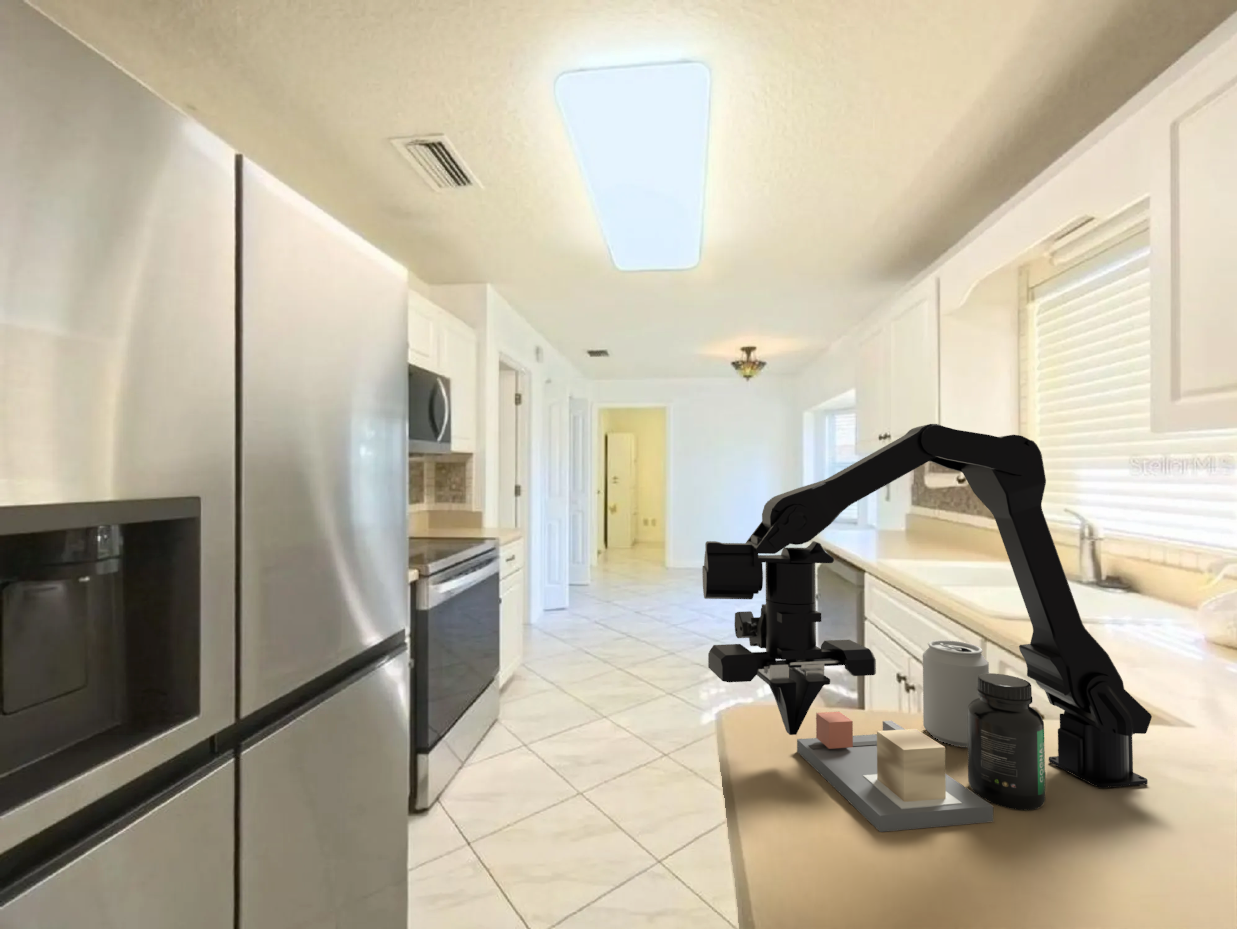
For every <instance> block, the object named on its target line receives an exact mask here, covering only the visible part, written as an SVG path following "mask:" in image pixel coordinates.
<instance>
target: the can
mask: <svg viewBox="0 0 1237 929" xmlns="http://www.w3.org/2000/svg"><path fill="white" fill-rule="evenodd" d="M927 645H928V648H927V649H926V650H925V651H924V652H923V653H922V701H923V702H922V703H923V704H922V707H923V708H922V711H923V713H922V714H923V716H922V717H923V718H922V719H923V721H922V722H923V728H924V729H925V730H926V731H927V732H928V733H929V734H930V736H931V735H932V736H933V737H932V736H931V737H932V738H933V739H935V738H936V739H935V740H937V739H938V740H937V741H939V742H941V743H943V742H944V744H946V743H948V744H947V745H949V744H951V745H950V746H953V745H954V747H958V746H960V748H968V730H967V709H968V706H969V704H970V703H971V702H972V701H973V700H975V699H977V698H980V696H979V695H978V694H977V687H978V675H980V674H985V673H990V668H989V667H990V663H989V661H988V660H987V659H986V658H985V656H984V655H983V654H982V653H983V652H984V650H983V649H982V647H980V646H978V645H975V644H973V643H968V642H964V641H959V640H958V641H957V640H950V639H949V640H948V639H936V640H935V639H933V640H930V641H929V642H928V643H927Z"/></svg>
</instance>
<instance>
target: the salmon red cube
mask: <svg viewBox="0 0 1237 929" xmlns="http://www.w3.org/2000/svg"><path fill="white" fill-rule="evenodd" d="M815 714H816V715H815V716H816V718H815V720H816V721H815V722H816V724H815V725H816V726H815V727H816V728H815V729H816V730H815V731H816V732H815V733H816V735H815V738H817V739H818V740H819V741H821V742H822V743H823V744H824V745H825V746H826V747H828V748H829V749H833V748H848V747H853V736H854V735H853V731H854V728H853V726H854V725H853V724H854V723H853V722H854V721H853V719H851V718H850V717H847V715H845V714H844V713H842V712H840V711H825V712H821V711H820V712H816V713H815Z"/></svg>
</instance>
